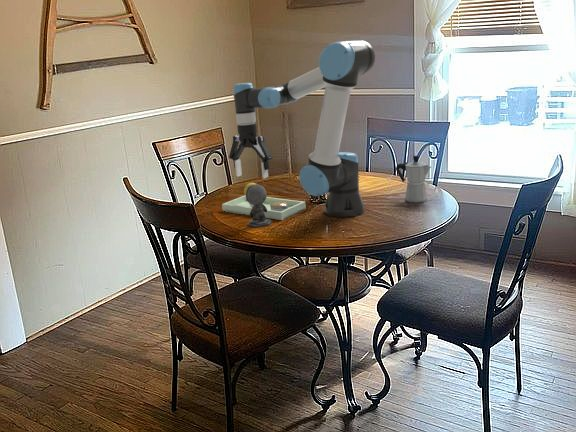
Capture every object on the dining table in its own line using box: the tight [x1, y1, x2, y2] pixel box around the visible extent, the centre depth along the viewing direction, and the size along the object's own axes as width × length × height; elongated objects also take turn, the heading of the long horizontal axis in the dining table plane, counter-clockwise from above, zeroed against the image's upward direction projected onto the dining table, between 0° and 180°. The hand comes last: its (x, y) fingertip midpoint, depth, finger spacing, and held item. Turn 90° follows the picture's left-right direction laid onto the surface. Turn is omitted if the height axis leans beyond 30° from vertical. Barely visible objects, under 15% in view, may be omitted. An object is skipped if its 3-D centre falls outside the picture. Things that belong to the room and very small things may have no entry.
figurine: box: [246, 183, 273, 229], centre depth 215 cm, size 9×10×15 cm
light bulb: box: [243, 182, 257, 207], centre depth 235 cm, size 7×7×10 cm
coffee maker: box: [395, 155, 432, 204], centre depth 232 cm, size 15×9×18 cm, turn 56°
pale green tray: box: [221, 194, 307, 221], centre depth 234 cm, size 30×16×3 cm, turn 54°
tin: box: [270, 202, 288, 211], centre depth 229 cm, size 7×7×3 cm
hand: (252, 176), depth 233 cm, fingers open, 13 cm apart
